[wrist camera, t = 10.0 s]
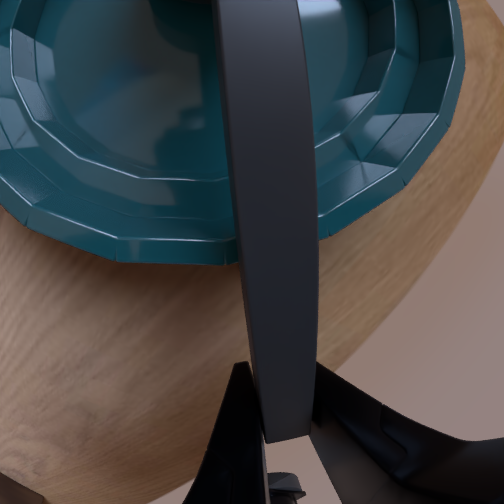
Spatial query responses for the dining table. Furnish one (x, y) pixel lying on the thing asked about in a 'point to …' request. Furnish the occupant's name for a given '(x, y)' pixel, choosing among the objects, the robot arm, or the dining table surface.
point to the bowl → (204, 117)
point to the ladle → (272, 200)
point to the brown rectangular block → (17, 493)
